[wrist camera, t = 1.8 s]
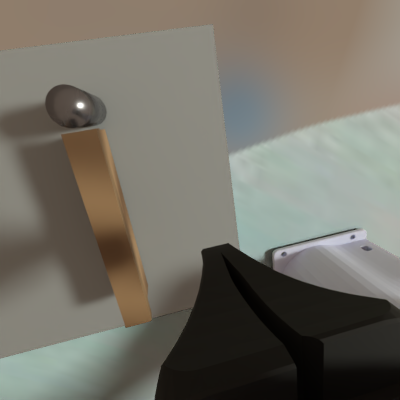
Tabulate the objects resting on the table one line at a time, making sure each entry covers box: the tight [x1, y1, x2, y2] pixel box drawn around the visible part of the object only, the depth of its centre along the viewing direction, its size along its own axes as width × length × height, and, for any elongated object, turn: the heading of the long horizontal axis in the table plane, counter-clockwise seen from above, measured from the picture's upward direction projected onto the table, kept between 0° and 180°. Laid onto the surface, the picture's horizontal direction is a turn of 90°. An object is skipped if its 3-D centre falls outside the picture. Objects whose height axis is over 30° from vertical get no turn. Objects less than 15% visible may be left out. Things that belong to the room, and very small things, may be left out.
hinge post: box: [45, 84, 107, 128], centre depth 14 cm, size 2×2×5 cm
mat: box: [0, 24, 240, 358], centre depth 19 cm, size 24×22×1 cm
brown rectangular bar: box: [61, 128, 152, 328], centre depth 17 cm, size 13×2×4 cm, turn 9°
